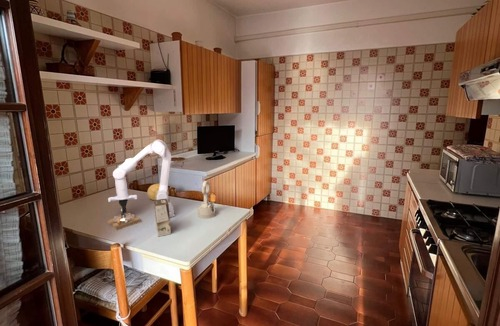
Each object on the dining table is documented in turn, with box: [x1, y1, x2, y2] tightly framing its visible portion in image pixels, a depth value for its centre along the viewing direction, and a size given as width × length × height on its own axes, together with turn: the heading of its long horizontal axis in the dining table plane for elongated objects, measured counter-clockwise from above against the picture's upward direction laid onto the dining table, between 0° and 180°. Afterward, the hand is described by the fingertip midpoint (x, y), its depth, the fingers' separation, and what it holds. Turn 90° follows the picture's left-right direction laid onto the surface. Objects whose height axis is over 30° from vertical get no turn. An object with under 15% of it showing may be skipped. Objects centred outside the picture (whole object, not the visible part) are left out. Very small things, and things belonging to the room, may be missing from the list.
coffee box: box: [153, 199, 172, 237], centre depth 133 cm, size 9×6×16 cm
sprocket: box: [112, 207, 135, 224], centre depth 145 cm, size 11×11×5 cm
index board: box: [106, 212, 142, 231], centre depth 146 cm, size 13×13×4 cm
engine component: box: [197, 180, 216, 220], centre depth 153 cm, size 11×20×10 cm
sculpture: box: [146, 183, 160, 201], centre depth 182 cm, size 12×12×11 cm
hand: (124, 212), depth 149 cm, fingers closed, pressing on sprocket
